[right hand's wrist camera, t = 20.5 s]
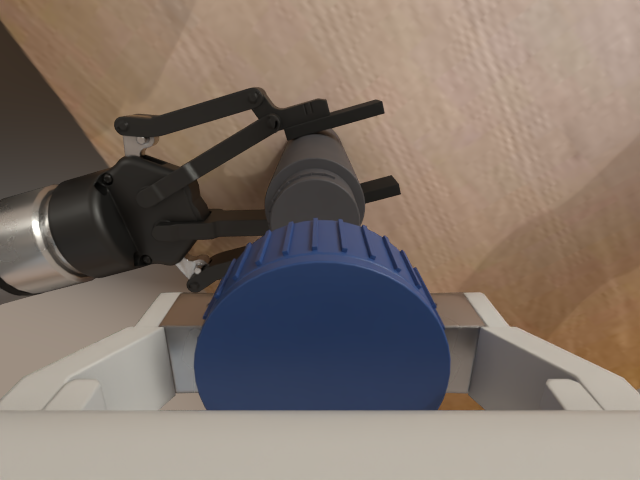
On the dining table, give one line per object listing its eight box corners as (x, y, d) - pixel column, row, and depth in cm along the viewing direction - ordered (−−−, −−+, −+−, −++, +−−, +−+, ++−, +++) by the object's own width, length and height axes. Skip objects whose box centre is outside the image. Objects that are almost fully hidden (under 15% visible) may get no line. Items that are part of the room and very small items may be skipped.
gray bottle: (286, 121, 32) (258, 164, 16) (344, 124, 33) (376, 170, 16) (285, 178, 34) (259, 271, 18) (340, 181, 34) (365, 275, 18)
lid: (359, 420, 12) (368, 499, 9) (187, 349, 11) (152, 419, 8) (467, 275, 10) (510, 332, 8) (272, 175, 9) (256, 206, 7)
